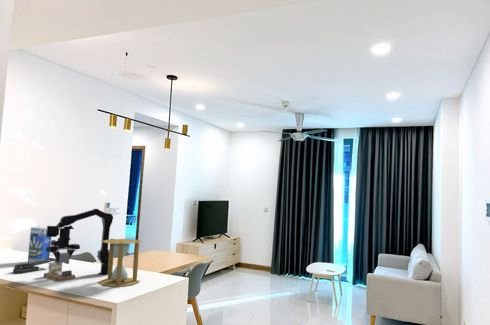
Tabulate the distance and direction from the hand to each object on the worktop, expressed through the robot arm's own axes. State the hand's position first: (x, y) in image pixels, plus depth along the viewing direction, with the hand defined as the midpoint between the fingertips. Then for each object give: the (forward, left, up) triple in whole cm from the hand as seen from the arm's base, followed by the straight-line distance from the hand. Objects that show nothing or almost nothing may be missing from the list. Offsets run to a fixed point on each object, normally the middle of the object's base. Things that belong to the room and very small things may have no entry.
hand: (62, 261), depth 219 cm
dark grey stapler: (+33, 0, -10) cm, 34 cm away
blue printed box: (+57, -14, -10) cm, 59 cm away
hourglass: (-34, -17, -10) cm, 39 cm away
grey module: (0, 0, -1) cm, 1 cm away
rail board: (+2, 0, -10) cm, 10 cm away
